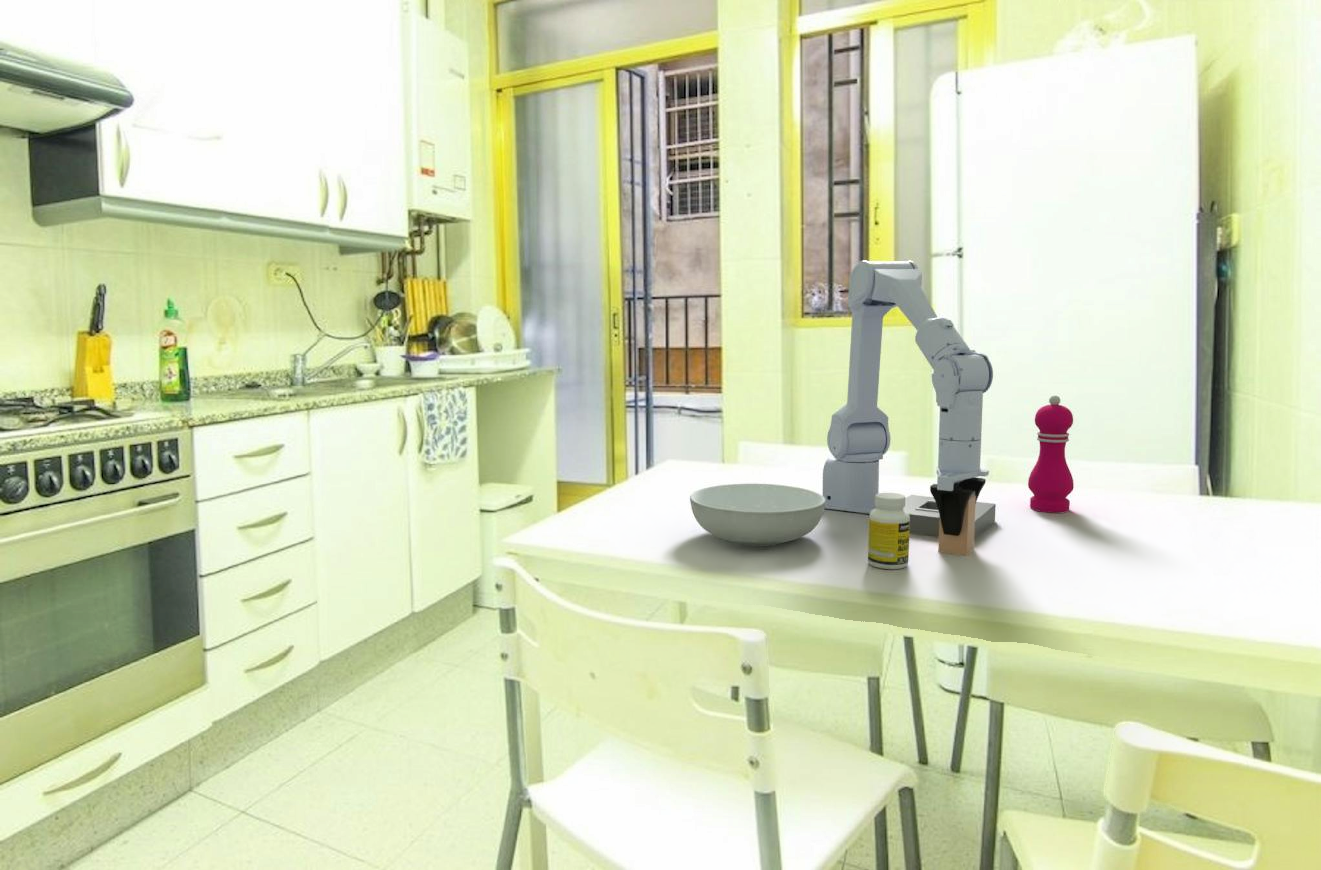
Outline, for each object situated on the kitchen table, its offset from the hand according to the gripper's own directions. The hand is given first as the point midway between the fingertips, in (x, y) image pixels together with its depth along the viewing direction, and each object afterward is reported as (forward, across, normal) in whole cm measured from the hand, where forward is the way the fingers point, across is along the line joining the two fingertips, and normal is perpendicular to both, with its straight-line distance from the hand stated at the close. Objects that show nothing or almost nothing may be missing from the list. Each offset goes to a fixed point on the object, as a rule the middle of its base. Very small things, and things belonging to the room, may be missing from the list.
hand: (956, 530), depth 118 cm
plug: (+3, 0, 0) cm, 3 cm away
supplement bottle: (+3, -12, +6) cm, 14 cm away
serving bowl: (+3, -9, +28) cm, 30 cm away
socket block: (+3, +13, +6) cm, 15 cm away
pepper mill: (+3, +34, -7) cm, 35 cm away
